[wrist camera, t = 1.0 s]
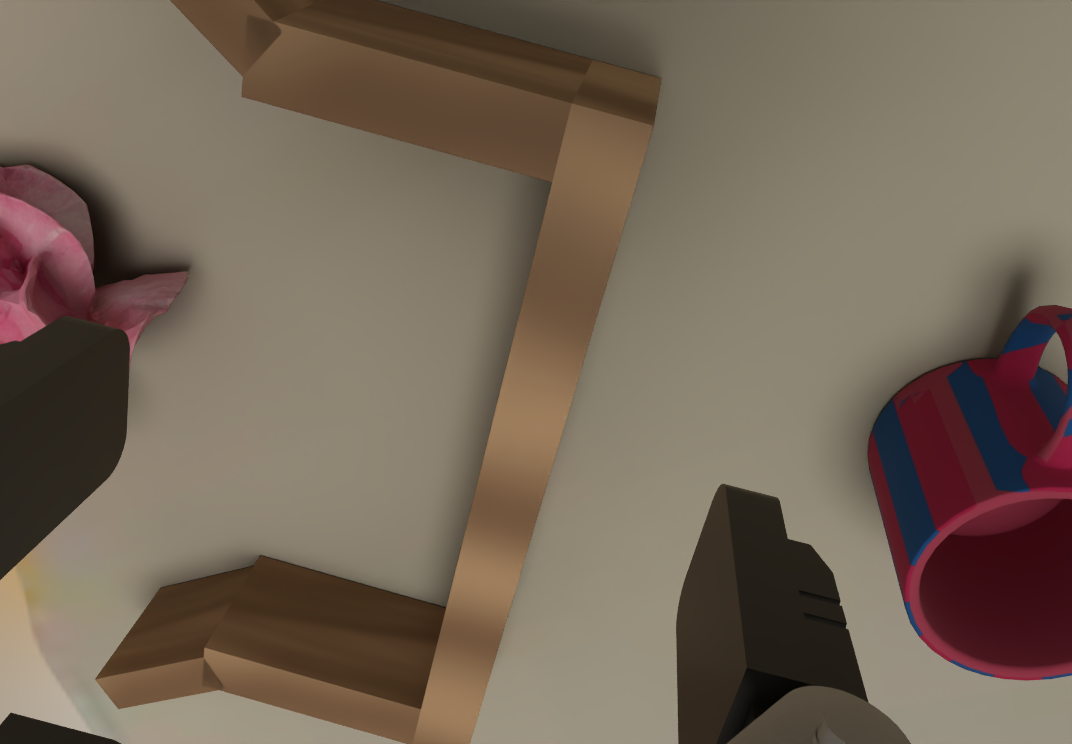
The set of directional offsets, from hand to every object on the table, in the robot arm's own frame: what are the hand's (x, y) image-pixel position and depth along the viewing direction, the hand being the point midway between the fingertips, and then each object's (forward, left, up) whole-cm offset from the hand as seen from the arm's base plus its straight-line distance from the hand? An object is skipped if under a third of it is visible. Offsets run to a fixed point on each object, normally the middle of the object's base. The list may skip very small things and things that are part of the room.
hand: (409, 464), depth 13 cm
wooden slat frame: (+10, -5, -18) cm, 21 cm away
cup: (+5, +15, -18) cm, 24 cm away
